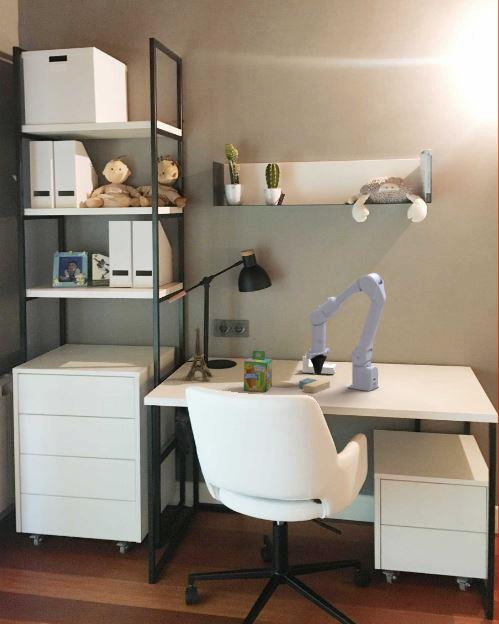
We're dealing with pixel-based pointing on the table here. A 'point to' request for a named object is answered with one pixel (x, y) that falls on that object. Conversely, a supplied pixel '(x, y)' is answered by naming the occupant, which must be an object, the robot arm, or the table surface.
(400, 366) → the table surface
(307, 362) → the bracket
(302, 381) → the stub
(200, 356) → the eiffel tower
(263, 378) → the chalk box
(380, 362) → the table surface
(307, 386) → the cream usb hub
